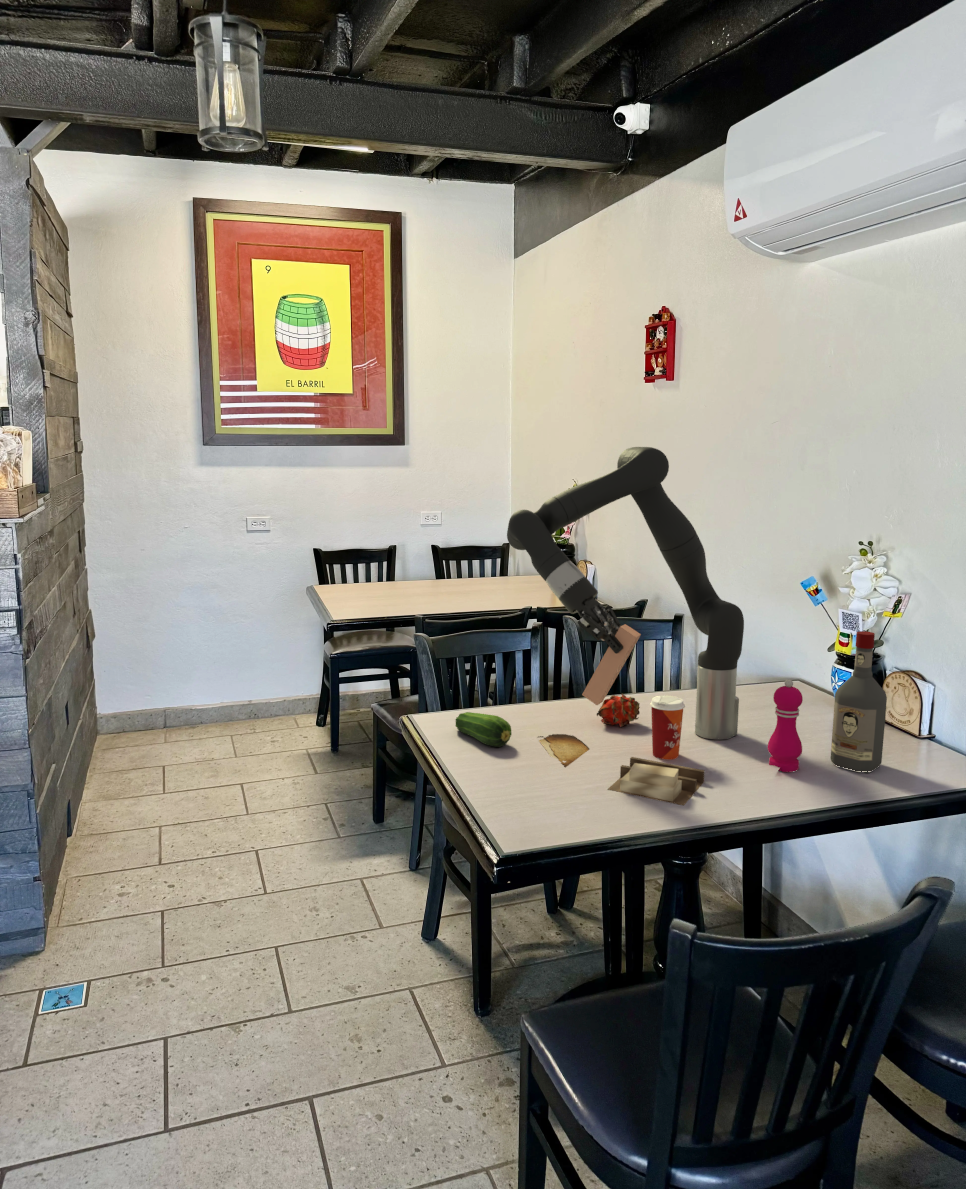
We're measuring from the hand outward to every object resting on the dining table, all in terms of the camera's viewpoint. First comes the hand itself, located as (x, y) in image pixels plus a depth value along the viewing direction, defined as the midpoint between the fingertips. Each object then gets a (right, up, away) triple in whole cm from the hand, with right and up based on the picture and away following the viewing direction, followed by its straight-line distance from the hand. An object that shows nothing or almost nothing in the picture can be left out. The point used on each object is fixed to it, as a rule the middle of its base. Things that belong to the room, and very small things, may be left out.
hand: (623, 648), depth 186 cm
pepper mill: (+37, -27, +9) cm, 47 cm away
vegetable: (-30, -24, +28) cm, 48 cm away
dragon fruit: (+5, -22, +38) cm, 44 cm away
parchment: (-10, -26, +18) cm, 33 cm away
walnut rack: (+6, -29, -3) cm, 30 cm away
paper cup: (+12, -26, +14) cm, 32 cm away
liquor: (+53, -27, +11) cm, 60 cm away
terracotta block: (-6, -11, +5) cm, 14 cm away
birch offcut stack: (+5, -29, -6) cm, 30 cm away
